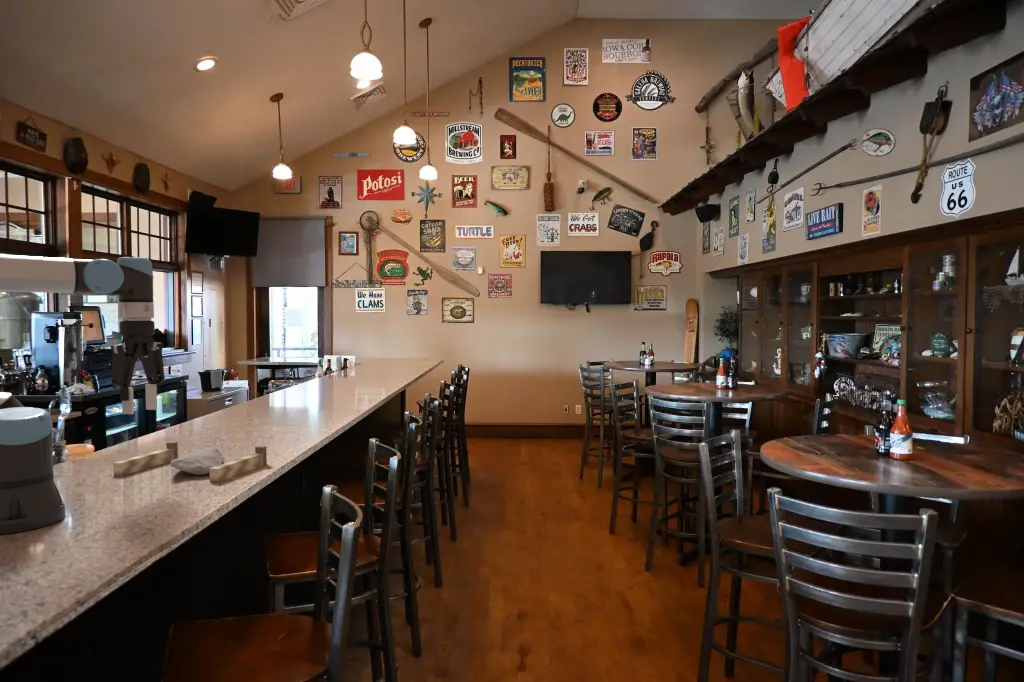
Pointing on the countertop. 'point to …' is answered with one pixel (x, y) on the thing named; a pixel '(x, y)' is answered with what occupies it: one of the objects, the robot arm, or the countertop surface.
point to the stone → (198, 461)
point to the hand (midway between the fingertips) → (140, 411)
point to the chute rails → (171, 453)
